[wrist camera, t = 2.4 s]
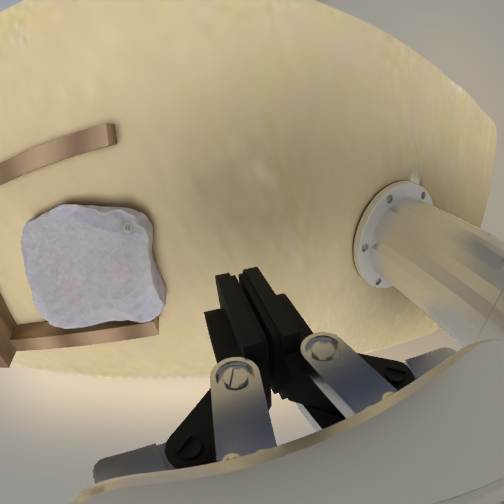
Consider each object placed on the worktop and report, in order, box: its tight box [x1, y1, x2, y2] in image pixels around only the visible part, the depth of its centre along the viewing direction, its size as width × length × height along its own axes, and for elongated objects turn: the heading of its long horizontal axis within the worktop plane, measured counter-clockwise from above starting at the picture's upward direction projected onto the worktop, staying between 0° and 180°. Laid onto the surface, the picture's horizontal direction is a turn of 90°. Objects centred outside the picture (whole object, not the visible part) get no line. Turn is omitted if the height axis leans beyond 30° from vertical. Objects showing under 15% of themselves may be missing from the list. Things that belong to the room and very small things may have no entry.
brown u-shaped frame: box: [0, 124, 159, 368], centre depth 16 cm, size 19×17×5 cm
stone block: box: [21, 204, 166, 329], centre depth 19 cm, size 12×5×10 cm
